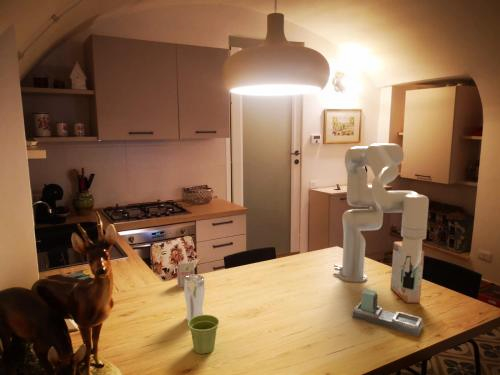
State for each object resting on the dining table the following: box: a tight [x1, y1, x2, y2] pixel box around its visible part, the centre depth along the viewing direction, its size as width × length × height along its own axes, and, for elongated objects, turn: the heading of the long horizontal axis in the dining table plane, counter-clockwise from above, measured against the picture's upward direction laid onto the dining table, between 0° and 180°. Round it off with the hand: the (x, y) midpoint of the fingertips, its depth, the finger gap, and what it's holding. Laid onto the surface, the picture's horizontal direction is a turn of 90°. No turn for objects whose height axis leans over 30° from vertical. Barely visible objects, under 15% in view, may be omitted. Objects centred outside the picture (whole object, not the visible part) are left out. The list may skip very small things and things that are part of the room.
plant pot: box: [187, 314, 220, 355], centre depth 113 cm, size 9×9×9 cm
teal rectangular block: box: [360, 288, 379, 313], centre depth 133 cm, size 4×4×7 cm
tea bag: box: [176, 261, 196, 289], centre depth 159 cm, size 4×7×10 cm, turn 110°
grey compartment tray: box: [351, 301, 424, 338], centre depth 130 cm, size 22×7×4 cm, turn 55°
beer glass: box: [183, 274, 205, 322], centre depth 130 cm, size 7×7×15 cm
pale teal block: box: [401, 266, 419, 291], centre depth 124 cm, size 4×4×7 cm
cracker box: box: [389, 241, 425, 304], centre depth 150 cm, size 14×6×21 cm, turn 5°
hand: (409, 285), depth 124 cm, fingers closed on pale teal block, 4 cm apart
